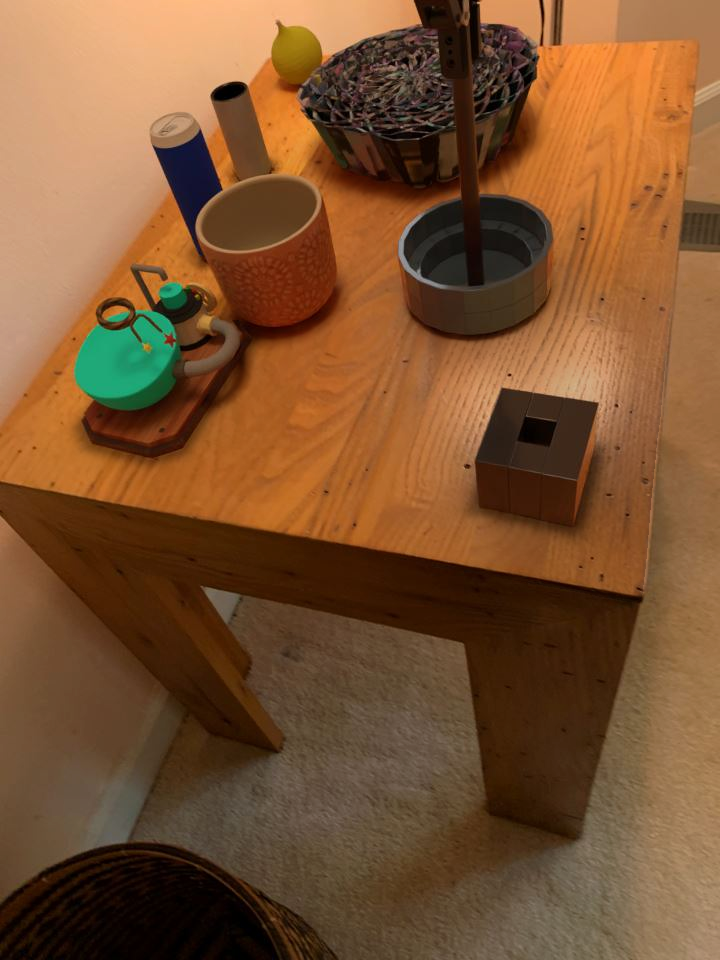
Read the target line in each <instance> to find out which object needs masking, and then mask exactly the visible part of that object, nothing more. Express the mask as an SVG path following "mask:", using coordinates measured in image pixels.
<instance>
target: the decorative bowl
mask: <svg viewBox="0 0 720 960" xmlns="http://www.w3.org/2000/svg"><path fill="white" fill-rule="evenodd" d="M481 42H482V52H481V54H480V56H479V58H478V59H477V60H475V61H472V76H473V94H474V111H475V129H476V146H477V163H478V172H479V171H481V170H482V168H483V166H485V165H487V164H489V163H492V162H494V161H495V160H496V158H497V157H498V154H499V153H500V152H501V151H503V150H505V149H507V148H508V147H509V146H510V145H511V144H512V141H513V139H514V137H515V133H516V130H517V128H518V125H519V121H520V119H521V116H522V113H523V110H524V108H525V105H526V102H527V99H528V96H529V93H530V90H531V86H532V84H533V83H534V82H535V81H537V79H538V66H537V65H538V62H539V60H540V57H541V56H540V55H539V54H538V47H539V44H538V43H537V42H536V41H535V40H534V39H533V38H532V37H531V36H530V35H527V34H525V33H524V32H523V31H522V30H521V29H520V28H519V27H517V26H511V25H509V24H503V23H488V22H481ZM296 100H297V101H298V103H299V104H300V105H301V106H300V111H301V113H302V114H303V115H304V117H305V118H306V119H307V120H308V121H310V122H311V124H312V125H313V126H314V128H315V130H316V132H317V133H318V134H319V136H320V138H321V139H322V140H323V142H324V144H325V145H326V147H327V148H328V150H329V151H330V153H331V155H332V156H333V158H334V159H335V161H336V162H337V164H338V166H339V167H340V168H341V169H343V170H346V171H350V172H352V173H354V174H355V175H361V176H369V177H370V178H371V180H374V181H378V182H390V181H392V182H393V183H398V184H405V185H407V186H409V187H411V188H413V189H426V188H429V187H432V186H433V185H435V183H436V182H440V183H447V182H448V183H449V182H451V181H452V180H454V179H458V178H459V166H458V154H457V141H456V128H455V116H454V103H453V91H452V79H446V78H444V77H443V76H442V74H441V68H440V57H439V46H438V35H437V29H424V28H423V26H422V23H417V24H414V25H410V26H406V27H402V28H397V29H393V30H389V31H386V32H383V33H379V34H376V35H372V36H369V37H366V38H362V39H361V40H359V41H357V42H355V43H353V44H352V45H349V46H347V47H345V48H343V49H341V50H339V51H337V52H335V53H333V54H332V55H331V56H330V57H328V59H326V60H325V61H323V62H322V64H321V65H320V66H319V67H318V68H316V69H315V70H314V71H313V72H312V73H311V76H310V78H309V79H308V80H307V81H305V82H304V83H303V84H300V86H299V89H298V91H297V93H296Z"/></svg>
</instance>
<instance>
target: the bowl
mask: <svg viewBox="0 0 720 960" xmlns="http://www.w3.org/2000/svg"><path fill="white" fill-rule="evenodd" d="M479 198H480V216H481V233H482V250H483V268H484V285H479V286H470V287H469V286H468V279H467V266H466V254H465V241H464V229H463V216H462V204H461V195H460V196H457V197H453V198H451V199H446V200H444V201H441V202H439V203H436V204H434V205H433V206H431V207H429V208H427V209H425V210H423V211H421V212H420V213H418V215H417V216H415V217H414V218H413V219H412V220H411V221H410V222H409V223H408V224H407V225H406V226H405V228H404V229H403V232H402V233H401V235H400V237H399V239H398V240H397V241H398V243H397V244H398V245H397V259H398V265H399V272H400V278H401V283H402V289H403V290H402V291H403V295H404V300H405V302H406V304H407V306H408V308H409V310H410V313H411V314H412V315H413V316H415V317H416V318H417V319H418V320H419V321H421V322H422V323H423V324H425V325H427V326H429V327H430V328H431V327H432V328H433V329H435V330H439V331H441V332H444V333H450V334H457V335H465V336H472V335H480V334H491V333H495V332H498V331H501V330H505V329H508V328H512V327H514V326H516V325H517V324H519V323H521V322H523V321H524V320H526V319H527V318H529V317H530V316H532V315H534V314H535V313H536V311H537V310H538V309H539V308H540V307H541V306H542V305H543V304H544V302H546V301H547V299H548V296H549V294H550V291H551V288H552V285H553V269H554V268H553V266H554V263H553V261H554V233H553V232H554V231H553V225H552V222H551V221H550V219H548V217H547V216H546V214H545V212H544V211H543V210H542V209H540V208H538V207H537V206H535V205H533V204H532V203H530V202H529V201H527V200H525V199H522V198H519V197H515V196H512V195H509V194H499V193H484V192H483V193H479Z"/></svg>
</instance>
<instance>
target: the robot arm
mask: <svg viewBox="0 0 720 960" xmlns="http://www.w3.org/2000/svg"><path fill="white" fill-rule="evenodd" d="M482 1H483V0H413V2H414V6H415V8H416V11H417V14H418V17H419V19H420V24H422V26H423V28H424V29H437V35H438V46H439V57H440V68H441V74H442V76H443V77H444V78H446V79H465V78H467V77H468V76H469V74H470V72H471V70H472V62H471V59H472V61H475V60H477V59H478V58H479V56H480V54H481V52H482V42H481V23H482V22H481V21H482V20H481V2H482ZM469 24H470V27H469ZM470 42H471V44H470Z"/></svg>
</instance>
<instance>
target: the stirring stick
mask: <svg viewBox="0 0 720 960" xmlns="http://www.w3.org/2000/svg"><path fill="white" fill-rule="evenodd" d="M469 27H470V24H469ZM470 44H471V42H470ZM471 62H472V59H471ZM452 91H453V103H454V116H455V128H456V141H457V154H458V166H459V177H458V178H459V190H460V197H461V204H462V216H463V229H464V241H465V254H466V266H467V279H468V286H469V287H470V286H479V285H484V268H483V250H482V233H481V216H480V198H479V194H480V183H479V182H480V181H479V171H478V163H477V146H476V129H475V111H474V94H473V76H472V70H471V72H470V74H469V76H468V77H467V78H465V79H452Z"/></svg>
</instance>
